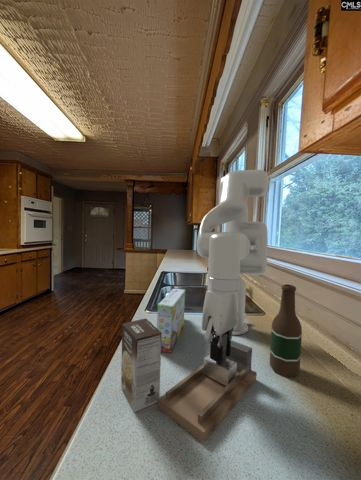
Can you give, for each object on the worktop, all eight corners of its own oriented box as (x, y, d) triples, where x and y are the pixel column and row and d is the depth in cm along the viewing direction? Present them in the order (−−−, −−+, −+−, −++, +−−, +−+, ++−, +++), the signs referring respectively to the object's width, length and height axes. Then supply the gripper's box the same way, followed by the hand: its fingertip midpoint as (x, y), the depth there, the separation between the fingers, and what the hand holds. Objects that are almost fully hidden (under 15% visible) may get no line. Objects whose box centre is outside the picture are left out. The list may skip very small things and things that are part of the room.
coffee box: (119, 387, 56) (120, 322, 55) (144, 378, 59) (145, 317, 59) (133, 413, 48) (135, 338, 47) (161, 402, 52) (163, 331, 51)
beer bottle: (301, 381, 60) (306, 290, 59) (269, 373, 63) (274, 287, 62) (297, 365, 68) (302, 284, 66) (269, 359, 70) (273, 281, 69)
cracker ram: (211, 366, 61) (213, 326, 61) (236, 378, 57) (237, 335, 56) (203, 373, 58) (204, 331, 58) (227, 386, 54) (229, 340, 53)
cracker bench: (216, 361, 68) (217, 335, 68) (256, 379, 60) (257, 350, 60) (157, 408, 50) (158, 372, 50) (203, 442, 42) (204, 400, 42)
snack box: (172, 353, 72) (173, 306, 71) (154, 351, 73) (156, 304, 72) (184, 326, 92) (185, 288, 92) (170, 324, 94) (172, 287, 93)
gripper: (226, 276, 65) (223, 340, 66) (190, 287, 53) (187, 365, 54) (251, 281, 60) (248, 350, 61) (218, 293, 48) (215, 380, 49)
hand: (220, 356), depth 57 cm, fingers closed on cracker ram, 3 cm apart
